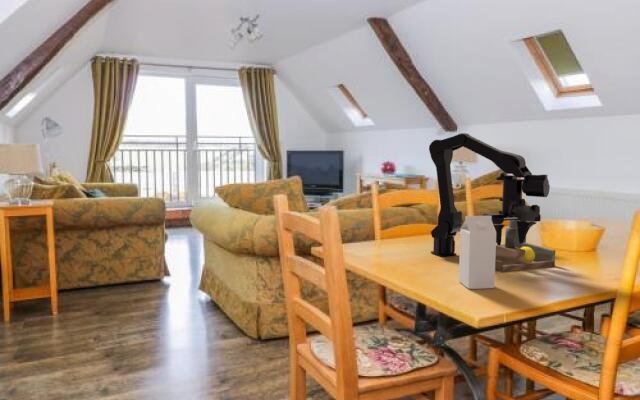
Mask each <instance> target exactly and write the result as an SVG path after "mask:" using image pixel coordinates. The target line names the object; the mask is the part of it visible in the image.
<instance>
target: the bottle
mask: <svg viewBox="0 0 640 400" xmlns="http://www.w3.org/2000/svg"><path fill="white" fill-rule="evenodd" d="M508 222H509V227H508V228H515V229H516V237H515V247H517V248H521V247H522V244H521V243H519V238H518V228H517V220H509V221H508ZM523 243H527V236H526V237H525V239H524V242H523Z"/></svg>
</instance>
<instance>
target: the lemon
mask: <svg viewBox="0 0 640 400" xmlns="http://www.w3.org/2000/svg"><path fill="white" fill-rule="evenodd" d="M521 249H524V250H525V263H529V262H534V261H533V260H534V259H535V252H534V251H533V250H532V248H530V247H522V248H521Z"/></svg>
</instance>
